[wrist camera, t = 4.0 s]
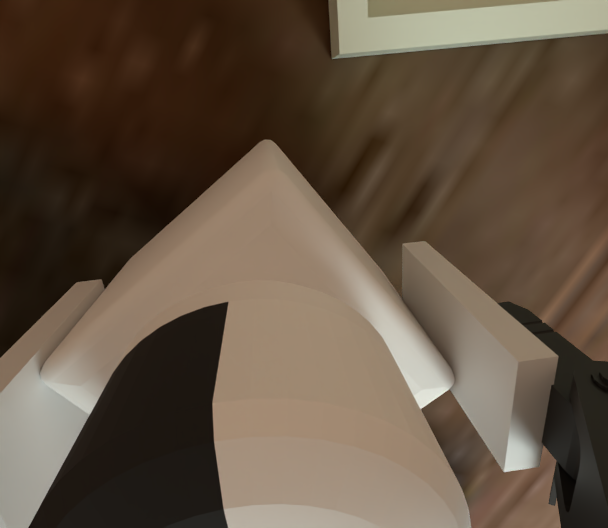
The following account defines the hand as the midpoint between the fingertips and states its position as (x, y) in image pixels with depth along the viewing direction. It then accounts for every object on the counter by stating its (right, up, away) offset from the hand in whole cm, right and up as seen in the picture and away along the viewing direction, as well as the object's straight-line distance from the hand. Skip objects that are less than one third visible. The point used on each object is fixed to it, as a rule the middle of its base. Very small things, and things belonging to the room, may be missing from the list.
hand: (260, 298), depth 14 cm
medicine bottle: (0, +1, +3) cm, 3 cm away
